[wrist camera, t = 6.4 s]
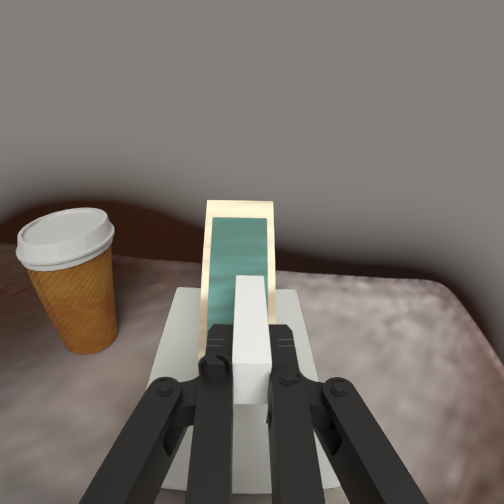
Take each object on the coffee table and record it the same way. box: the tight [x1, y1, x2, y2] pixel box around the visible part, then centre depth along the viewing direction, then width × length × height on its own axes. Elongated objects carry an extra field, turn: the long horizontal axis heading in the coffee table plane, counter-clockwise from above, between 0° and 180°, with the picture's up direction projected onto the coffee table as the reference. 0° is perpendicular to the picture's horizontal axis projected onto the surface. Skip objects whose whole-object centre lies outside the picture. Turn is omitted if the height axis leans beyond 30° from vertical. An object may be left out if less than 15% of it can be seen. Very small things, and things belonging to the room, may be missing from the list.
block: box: [198, 200, 276, 376], centre depth 23 cm, size 5×5×14 cm
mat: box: [146, 287, 340, 494], centre depth 26 cm, size 24×14×1 cm, turn 1°
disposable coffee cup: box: [16, 208, 118, 354], centre depth 25 cm, size 10×10×12 cm
